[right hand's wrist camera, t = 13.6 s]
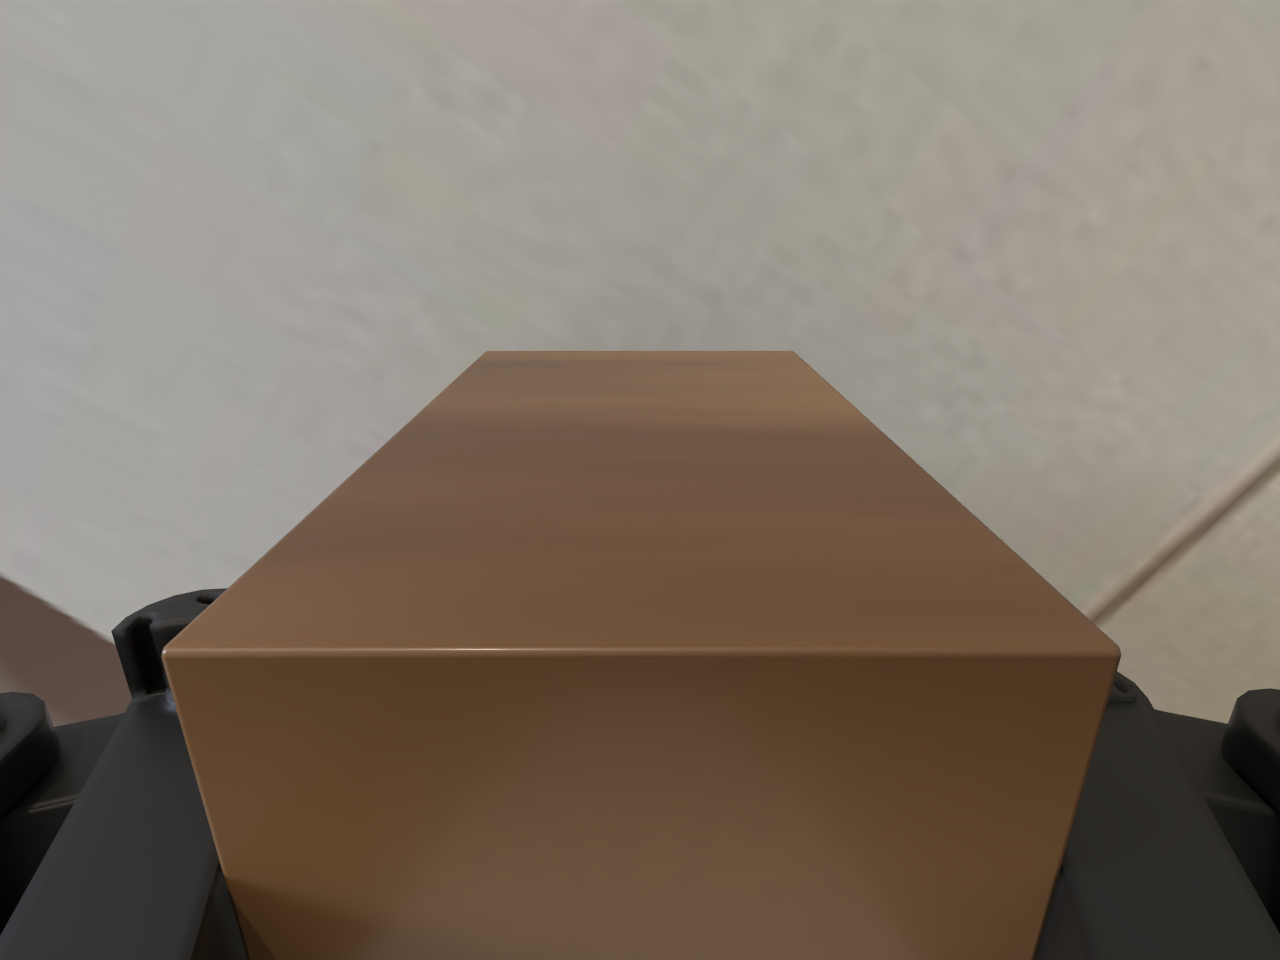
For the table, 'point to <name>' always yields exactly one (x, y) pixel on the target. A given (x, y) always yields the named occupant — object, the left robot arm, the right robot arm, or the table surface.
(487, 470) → the box
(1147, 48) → the table surface
